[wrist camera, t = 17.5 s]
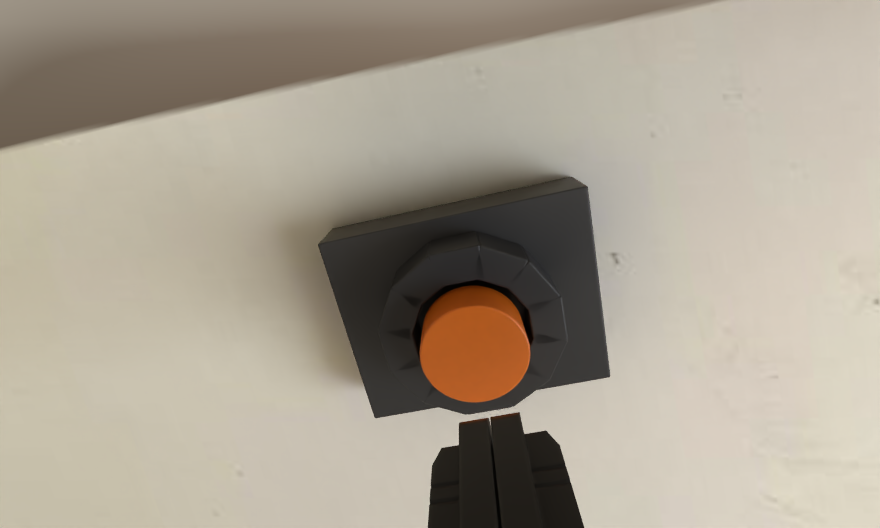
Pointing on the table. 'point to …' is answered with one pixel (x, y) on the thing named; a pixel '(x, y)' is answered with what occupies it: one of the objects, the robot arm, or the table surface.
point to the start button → (474, 344)
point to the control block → (471, 264)
